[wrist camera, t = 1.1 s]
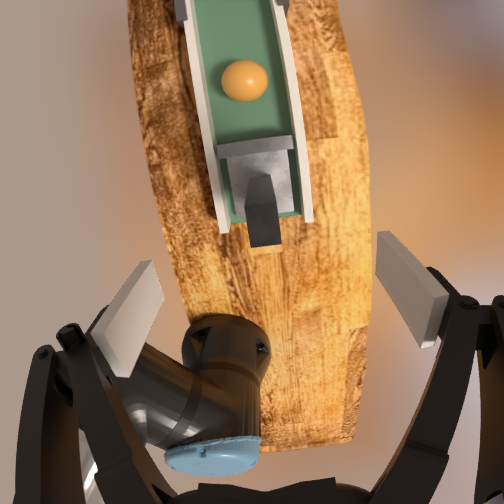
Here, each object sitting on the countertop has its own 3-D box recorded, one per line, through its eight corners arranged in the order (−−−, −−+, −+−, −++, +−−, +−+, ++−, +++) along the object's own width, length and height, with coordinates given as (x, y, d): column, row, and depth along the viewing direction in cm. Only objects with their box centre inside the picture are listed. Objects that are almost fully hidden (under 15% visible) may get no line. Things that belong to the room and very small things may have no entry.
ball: (261, 108, 30) (261, 105, 26) (219, 99, 30) (213, 94, 25) (272, 70, 28) (274, 61, 23) (230, 61, 28) (225, 50, 23)
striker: (297, 208, 35) (316, 253, 23) (233, 216, 36) (220, 265, 24) (288, 134, 31) (306, 139, 19) (220, 143, 32) (198, 154, 20)
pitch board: (307, 210, 37) (313, 221, 33) (224, 221, 38) (220, 233, 34) (267, -37, 22) (267, -53, 18) (184, -23, 23) (176, -38, 19)
